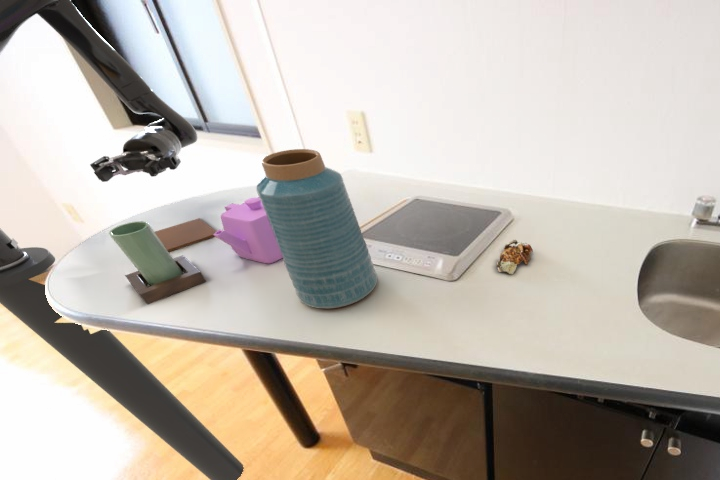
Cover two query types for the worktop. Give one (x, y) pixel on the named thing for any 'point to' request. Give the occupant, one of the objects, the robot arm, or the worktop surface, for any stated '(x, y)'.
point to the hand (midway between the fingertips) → (125, 174)
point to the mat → (185, 234)
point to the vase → (316, 229)
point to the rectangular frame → (167, 282)
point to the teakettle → (249, 232)
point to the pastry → (513, 256)
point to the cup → (145, 251)
